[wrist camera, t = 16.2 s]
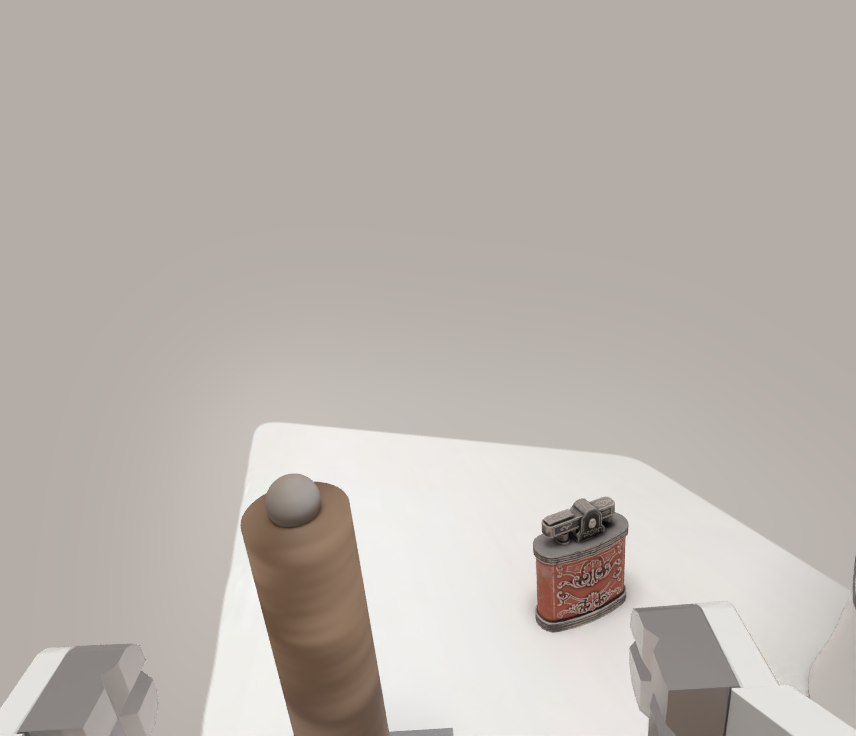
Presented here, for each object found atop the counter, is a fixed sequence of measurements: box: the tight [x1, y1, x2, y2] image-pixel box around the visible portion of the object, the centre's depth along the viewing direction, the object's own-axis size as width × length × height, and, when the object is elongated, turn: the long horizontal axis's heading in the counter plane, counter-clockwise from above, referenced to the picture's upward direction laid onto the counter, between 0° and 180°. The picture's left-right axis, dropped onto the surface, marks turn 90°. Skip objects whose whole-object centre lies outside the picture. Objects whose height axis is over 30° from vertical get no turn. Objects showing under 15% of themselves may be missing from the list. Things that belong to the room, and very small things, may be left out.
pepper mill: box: [241, 474, 390, 736], centre depth 33 cm, size 6×6×25 cm
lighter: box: [533, 497, 628, 632], centre depth 52 cm, size 8×3×10 cm, turn 113°
